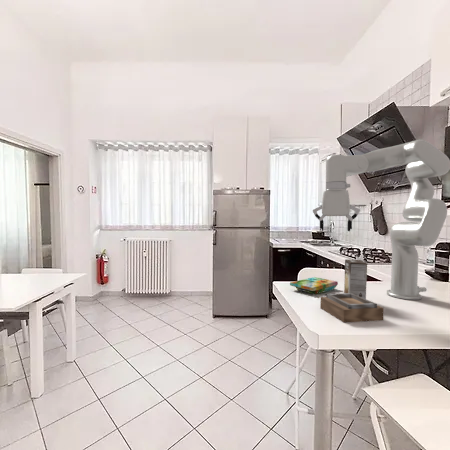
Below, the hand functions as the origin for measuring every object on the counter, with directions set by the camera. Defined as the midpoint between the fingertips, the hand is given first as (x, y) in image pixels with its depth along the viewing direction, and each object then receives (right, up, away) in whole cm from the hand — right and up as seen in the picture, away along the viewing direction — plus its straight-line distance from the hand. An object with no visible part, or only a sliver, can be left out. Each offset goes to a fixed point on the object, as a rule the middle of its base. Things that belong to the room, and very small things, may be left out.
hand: (335, 230), depth 109 cm
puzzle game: (-3, -28, +17) cm, 33 cm away
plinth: (-1, -28, -15) cm, 32 cm away
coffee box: (+7, -28, 0) cm, 29 cm away
